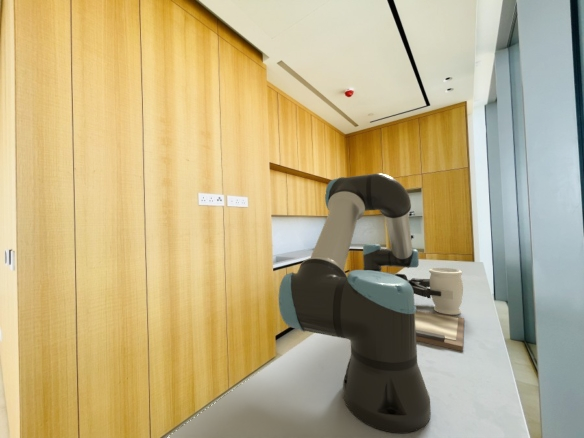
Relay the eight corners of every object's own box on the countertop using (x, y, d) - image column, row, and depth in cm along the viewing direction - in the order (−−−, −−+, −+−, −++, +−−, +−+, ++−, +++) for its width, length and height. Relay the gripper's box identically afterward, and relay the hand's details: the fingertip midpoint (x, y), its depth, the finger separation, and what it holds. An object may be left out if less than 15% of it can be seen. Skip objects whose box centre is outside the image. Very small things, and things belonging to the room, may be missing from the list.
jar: (463, 318, 82) (461, 273, 83) (428, 312, 89) (426, 271, 89) (464, 309, 91) (463, 268, 91) (433, 304, 97) (431, 266, 97)
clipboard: (462, 351, 62) (462, 342, 62) (395, 336, 71) (395, 328, 72) (464, 321, 80) (463, 314, 80) (410, 312, 89) (410, 306, 89)
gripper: (405, 285, 111) (461, 293, 97) (384, 299, 92) (450, 311, 78) (404, 268, 111) (461, 274, 97) (383, 279, 93) (449, 287, 79)
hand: (456, 290), depth 88 cm, fingers open, 13 cm apart
